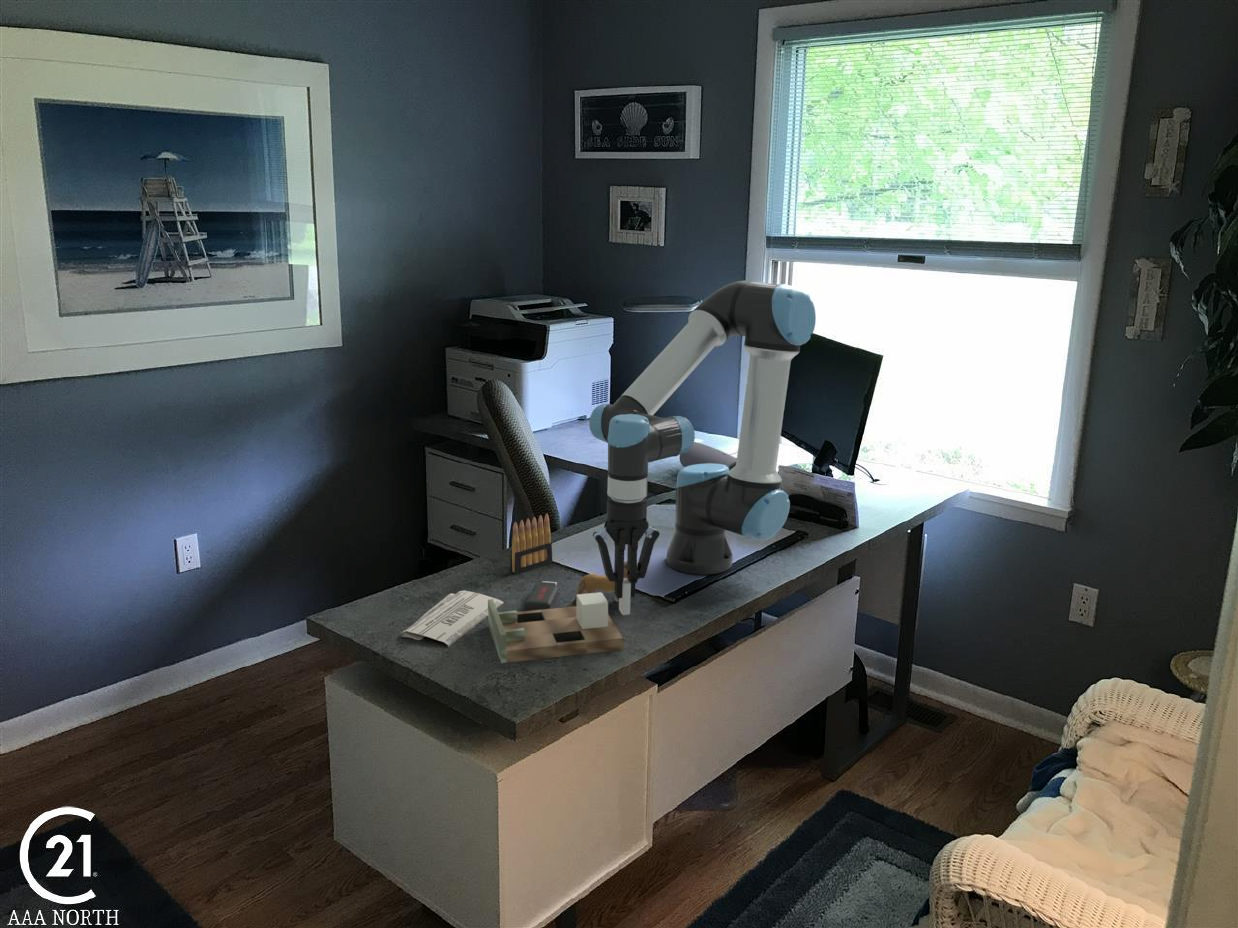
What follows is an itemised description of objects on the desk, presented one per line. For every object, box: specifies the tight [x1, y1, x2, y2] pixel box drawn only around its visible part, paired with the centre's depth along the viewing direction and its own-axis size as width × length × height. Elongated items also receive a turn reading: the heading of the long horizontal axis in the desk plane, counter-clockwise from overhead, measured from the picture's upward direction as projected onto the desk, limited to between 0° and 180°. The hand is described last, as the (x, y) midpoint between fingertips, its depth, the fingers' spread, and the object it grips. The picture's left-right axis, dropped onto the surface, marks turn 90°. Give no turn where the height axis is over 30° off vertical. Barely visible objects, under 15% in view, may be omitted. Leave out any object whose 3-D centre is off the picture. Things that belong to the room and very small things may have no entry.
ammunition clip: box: [509, 513, 553, 575], centre depth 227 cm, size 11×2×12 cm, turn 133°
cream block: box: [576, 591, 609, 629], centre depth 195 cm, size 5×5×5 cm
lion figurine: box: [570, 561, 638, 606], centre depth 209 cm, size 15×5×9 cm, turn 107°
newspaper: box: [400, 590, 504, 648], centre depth 202 cm, size 23×12×2 cm, turn 158°
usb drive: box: [524, 580, 559, 611], centre depth 211 cm, size 5×12×3 cm, turn 172°
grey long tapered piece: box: [678, 441, 737, 471], centre depth 292 cm, size 23×9×10 cm, turn 30°
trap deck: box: [487, 599, 624, 664], centre depth 194 cm, size 23×16×6 cm
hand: (624, 611), depth 197 cm, fingers closed
